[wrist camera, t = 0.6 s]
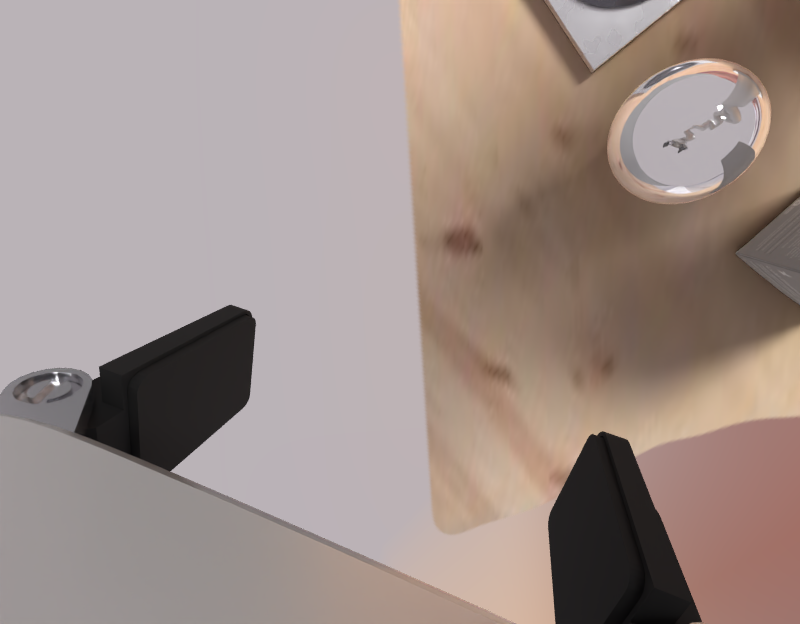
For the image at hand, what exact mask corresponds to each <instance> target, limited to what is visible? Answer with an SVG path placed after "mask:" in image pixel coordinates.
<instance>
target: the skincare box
mask: <svg viewBox="0 0 800 624" xmlns="http://www.w3.org/2000/svg"><path fill="white" fill-rule="evenodd" d="M736 255H737V256H738V257H739V258H741V259H742V260H743V261H744V262H745V263H746V264H748V265H749V266H750V267H751V268H752V269H753V270H755V271H756V272H757V273H758V274H760V275H761V276H762V277H763V278H765V279H766V280H767V281H768V282H770V283H771V284H772V285H773V286H775V287H776V288H777V289H778V290H780V291H781V292H782V293H784V294H785V295H786V296H788V297H789V298H790V299H792V300H793V301H794V302H796V303H797V304H799V305H800V197H799V198H798V199H796V200H795V201H794V202H793V203H792V204H791V205H790V206H789V207H787V208H786V209H785V210H784V211H783V212H782V213H781V214H780V215H779V216H777V217H776V218H775V219H774V220H773V221H772V222H771V223H770V224H768V225H767V226H766V227H765V228H764V229H763V230H762V231H760V232H759V233H758V234H757V235H756V236H755V237H754V238H753V239H751V240H750V241H749V242H748V243H747V244H746V245H744V246H743V247H742V248H740V249H739V250H738V251H737V252H736Z"/></svg>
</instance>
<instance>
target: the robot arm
mask: <svg viewBox="0 0 800 624" xmlns="http://www.w3.org/2000/svg"><path fill="white" fill-rule="evenodd" d="M255 326H256V322H255V319H254V318H252V315H251V312H250V311H247V310H245V309H242V308H239V307H236V306H233V305H229V306H226V307H224V308H222V309H220V310H218V311H216V312H213V313H211V314H209V315H207V316H205V317H203V318H201V319H199V320H197V321H194V322H193V323H190V324H188V325H186V326H184V327H182V328H180V329H178V330H176V331H174V332H171V333H169V334H167V335H165V336H163V337H161V338H159V339H157V340H155V341H152V342H150V343H148V344H146V345H144V346H142V347H140V348H138V349H136V350H133V351H131V352H129V353H127V354H125V355H123V356H121V357H119V358H117V359H115V360H112V361H111V362H108V363H106V364H104V365H102V366H100V367H99V370H100V377H98V378H96V379H94V380H92V379H91V377H90V376H89V374H87V373H85V372H83V371H81V370H76V369H72V368H54V369H45V370H41V371H37V372H32V373H30V374H27V375H24V376H22V377H19V378H18V379H16V380H14V381H13V382H11V383H10V384H9V385H8V386H7V387H6V388H5V389H4V390H3V391H2V393H1V394H0V624H515V623H513V622H511V621H509V620H507V619H505V618H502V617H500V616H498V615H496V614H494V613H491V612H489V611H487V610H485V609H483V608H481V607H478V606H476V605H474V604H471V603H469V602H467V601H465V600H462V599H460V598H458V597H456V596H453V595H451V594H449V593H447V592H444V591H442V590H440V589H438V588H435V587H433V586H431V585H429V584H426V583H424V582H422V581H420V580H417V579H415V578H412V577H411V576H408V575H406V574H404V573H402V572H399V571H397V570H395V569H392V568H390V567H388V566H386V565H384V564H381V563H379V562H377V561H374V560H372V559H370V558H368V557H366V556H363V555H361V554H359V553H356V552H354V551H352V550H350V549H347V548H345V547H343V546H340V545H338V544H336V543H333V542H331V541H329V540H326V539H325V538H322V537H320V536H318V535H315V534H313V533H311V532H309V531H306V530H304V529H302V528H299V527H297V526H295V525H292V524H290V523H288V522H285V521H283V520H281V519H279V518H276V517H274V516H272V515H270V514H267V513H265V512H263V511H260V510H258V509H256V508H253V507H251V506H249V505H247V504H244V503H242V502H239V501H237V500H235V499H233V498H230V497H228V496H225V495H223V494H221V493H219V492H216V491H214V490H211V489H209V488H207V487H205V486H202V485H200V484H198V483H195V482H193V481H191V480H188V479H186V478H184V477H181V476H179V475H177V474H175V473H172V472H170V471H171V470H172V469H174V468H175V467H176V466H177V465H178V464H179V463H180V462H182V461H183V460H184V459H185V458H186V457H187V456H188V455H190V454H191V453H192V452H193V451H194V450H195V449H197V448H198V447H199V446H200V445H201V444H202V443H203V442H204V441H206V440H207V439H208V438H209V437H210V436H211V435H213V434H214V433H215V432H216V431H217V430H218V429H220V428H221V427H222V426H223V425H224V424H225V423H226V422H227V421H229V420H230V419H231V418H232V417H233V416H234V415H236V414H237V413H238V412H239V411H240V410H241V409H242V408H243V407H244V406H245V405H246V404H247V402H248V400H249V396H250V387H251V375H252V363H253V350H254V339H255ZM548 530H549V544H550V557H551V570H552V583H553V596H554V609H555V622H556V624H706V623H703V622H702V621H701V618H700V615H699V613H698V610H697V608H696V605H695V603H694V600H693V598H692V596H691V593H690V591H689V588H688V585H687V583H686V580H685V578H684V575H683V573H682V570H681V568H680V565H679V563H678V560H677V558H676V555H675V553H674V550H673V548H672V545H671V543H670V540H669V538H668V535H667V532H666V530H665V527H664V525H663V522H662V520H661V517H660V515H659V513H658V512H657V510H656V509H655V507H654V505H653V502H652V500H651V497H650V495H649V492H648V489H647V487H646V484H645V482H644V479H643V477H642V474H641V472H640V469H639V467H638V464H637V461H636V459H635V456H634V454H633V451H632V449H631V446H630V443H629V442H628V440H626V439H624V438H621V437H618V436H615V435H612V434H609V433H606V432H603V431H602V432H600V433H599V434H598V435H594V434H591V435H590V436H589V438H588V439H587V441H586V443H585V445H584V447H583V449H582V451H581V453H580V455H579V457H578V459H577V461H576V463H575V465H574V467H573V469H572V471H571V473H570V475H569V477H568V479H567V481H566V482H565V484H564V486H563V488H562V490H561V492H560V494H559V496H558V498H557V500H556V502H555V504H554V506H553V508H552V510H551V512H550V516H549V521H548Z"/></svg>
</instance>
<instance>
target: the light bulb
mask: <svg viewBox="0 0 800 624" xmlns="http://www.w3.org/2000/svg"><path fill="white" fill-rule="evenodd" d="M770 123H771V103H770V99H769V96H768V93H767V90H766V88H765V87H764V85H763V84H762V82H761V81H760V79H759V78H758V77H757V76H756V75H755V74H753V73H752V72H751V71H750V70H749V69H747V68H745V67H743V66H741V65H739V64H737V63H735V62H731V61H727V60H722V59H718V58H699V59H693V60H687V61H683V62H681V63H678V64H675V65H672V66H670V67H667V68H664V69H663V70H661V71H659V72H657V73H656V74H654V75H652V76H650V77H649V78H648V79H646V80H645V81H644V82H643V83H641V84H640V85H639V86H638V87H637V88H636V89H635V90H634V91H633V92H632V93H631V94H630V95H629V96H628V97H627V99H626V100H625V101H624V102H623V104H622V106H621V107H620V109H619V110H618V112H617V113H616V115H615V117H614V120H613V122H612V124H611V127H610V131H609V135H608V139H607V156H608V161H609V165H610V168H611V170H612V173H613V175H614V176H615V178H616V179H617V181H618V182H619V183H620V185H622V186H623V187H624V188H625V189H626V190H627V191H629V192H630V193H631V194H633V195H635V196H637V197H638V198H640V199H642V200H646V201H649V202H653V203H659V204H679V203H688V202H692V201H696V200H700V199H703V198H705V197H708V196H710V195H712V194H714V193H717V192H718V191H720V190H721V189H723V188H724V187H726V186H728V185H729V184H731V183H732V182H734V181H735V180H736V179H737V178H739V177H740V176H741V175H742V174H743V173H744V172H745V171H746V170H747V169H748V168H749V167H750V166H751V164H752V163H753V162H754V161H755V160H756V158H757V157H758V155H759V153H760V151H761V150H762V148H763V146H764V144H765V141H766V139H767V136H768V133H769V130H770Z"/></svg>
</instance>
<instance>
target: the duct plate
mask: <svg viewBox="0 0 800 624" xmlns="http://www.w3.org/2000/svg"><path fill="white" fill-rule="evenodd" d="M544 1H545V3H546V4H547V6H548V7H549V9H550V10H551V12H552V13H553V15H554V17H555V18H556V20H557V21H558V23H559V24H560V26H561V27H562V29H563V30H564V32H565V33H566V35H567V36H568V38H569V39H570V41H571V43H572V44H573V46H574V47H575V49H576V50H577V52H578V53H579V55H580V56H581V58H582V59H583V61H584V62H585V64H586V65H587V67H588V69H589V70H590V72H591V73H592V72H594V71H595V70H596V69H597V68H599V67H600V66H601V65H602V64H604V63H605V62H606V61H607V60H608V59H610V58H611V57H612V56H613V55H615V54H616V53H617V52H618V51H620V50H621V49H622V48H623V47H625V46H626V45H627V44H628V43H629V42H631V41H632V40H633V39H634V38H636V37H637V36H638V35H639V34H641V33H642V32H643V31H644V30H646V29H647V28H648V27H649V26H650V25H652V24H653V23H654V22H655V21H657V20H658V19H659V18H660V17H662V16H663V15H664V14H665V13H667V12H668V11H669V10H670V9H671V8H673V7H674V6H675V5H676V4H678V3H679V2H680V1H681V0H544Z"/></svg>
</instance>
